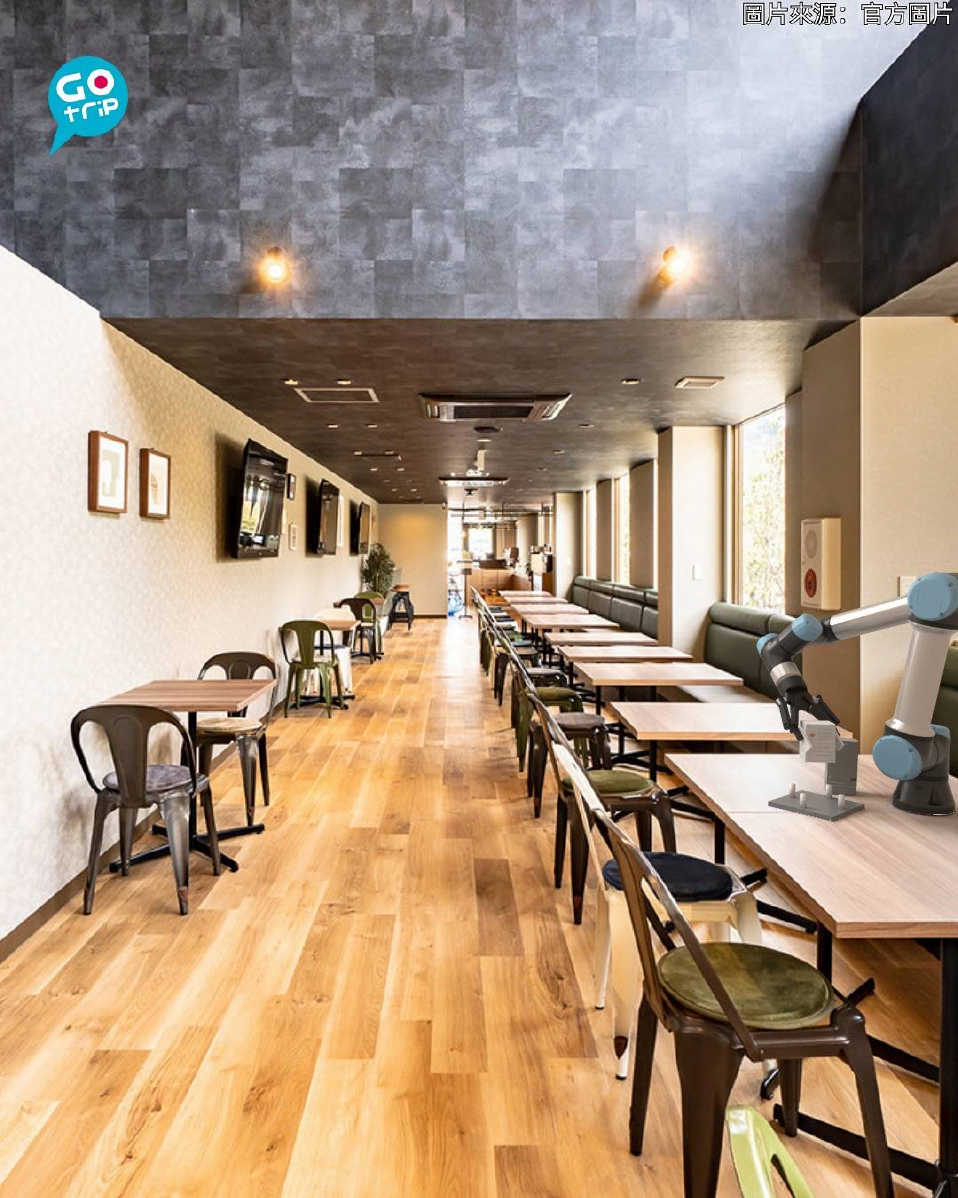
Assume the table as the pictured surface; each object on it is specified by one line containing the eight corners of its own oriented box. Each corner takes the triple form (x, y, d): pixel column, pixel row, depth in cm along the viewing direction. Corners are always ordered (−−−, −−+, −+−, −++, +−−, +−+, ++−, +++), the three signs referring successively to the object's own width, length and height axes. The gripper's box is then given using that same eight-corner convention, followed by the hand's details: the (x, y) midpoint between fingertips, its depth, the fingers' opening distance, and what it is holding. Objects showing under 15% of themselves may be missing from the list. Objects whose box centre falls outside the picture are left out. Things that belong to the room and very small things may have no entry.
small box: (828, 758, 228) (829, 720, 227) (835, 763, 222) (836, 724, 222) (798, 757, 229) (799, 719, 228) (804, 762, 223) (805, 723, 223)
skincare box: (826, 794, 239) (827, 739, 238) (823, 787, 246) (824, 734, 245) (858, 796, 237) (859, 741, 236) (854, 790, 243) (856, 736, 243)
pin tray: (801, 794, 239) (802, 777, 238) (864, 808, 225) (864, 790, 225) (768, 805, 227) (768, 788, 227) (832, 821, 213) (832, 803, 213)
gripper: (815, 688, 242) (852, 754, 228) (749, 691, 237) (783, 759, 222) (828, 672, 237) (866, 739, 223) (761, 674, 231) (796, 743, 217)
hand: (825, 749), depth 222 cm, fingers closed on small box, 9 cm apart
